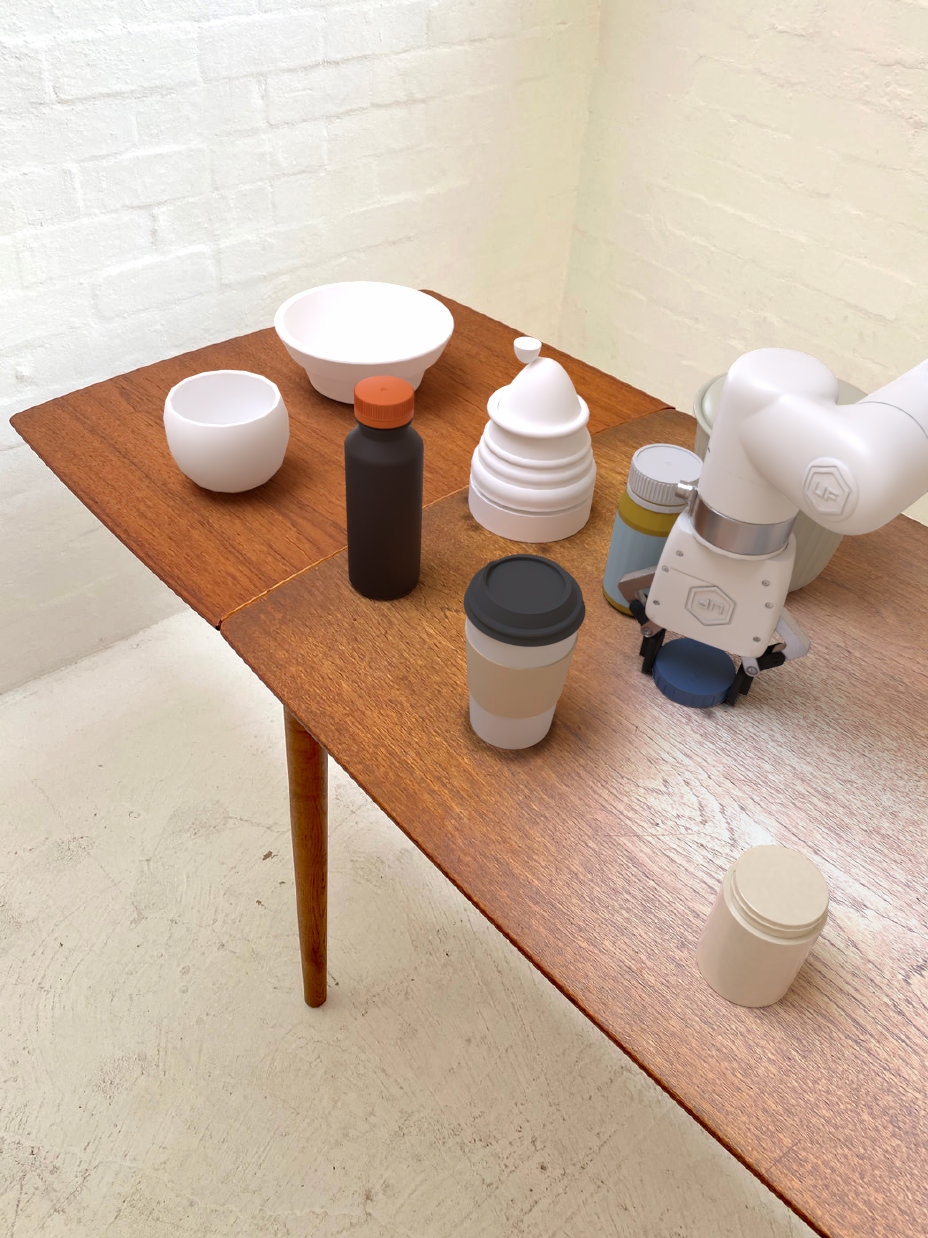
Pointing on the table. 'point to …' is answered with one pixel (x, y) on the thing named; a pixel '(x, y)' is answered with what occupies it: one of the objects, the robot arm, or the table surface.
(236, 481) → the cup
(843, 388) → the canister
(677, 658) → the lid
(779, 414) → the robot arm
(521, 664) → the coffee cup
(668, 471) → the bottle
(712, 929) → the jar
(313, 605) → the table surface
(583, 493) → the honey pot
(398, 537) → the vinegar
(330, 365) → the bowl
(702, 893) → the table surface
